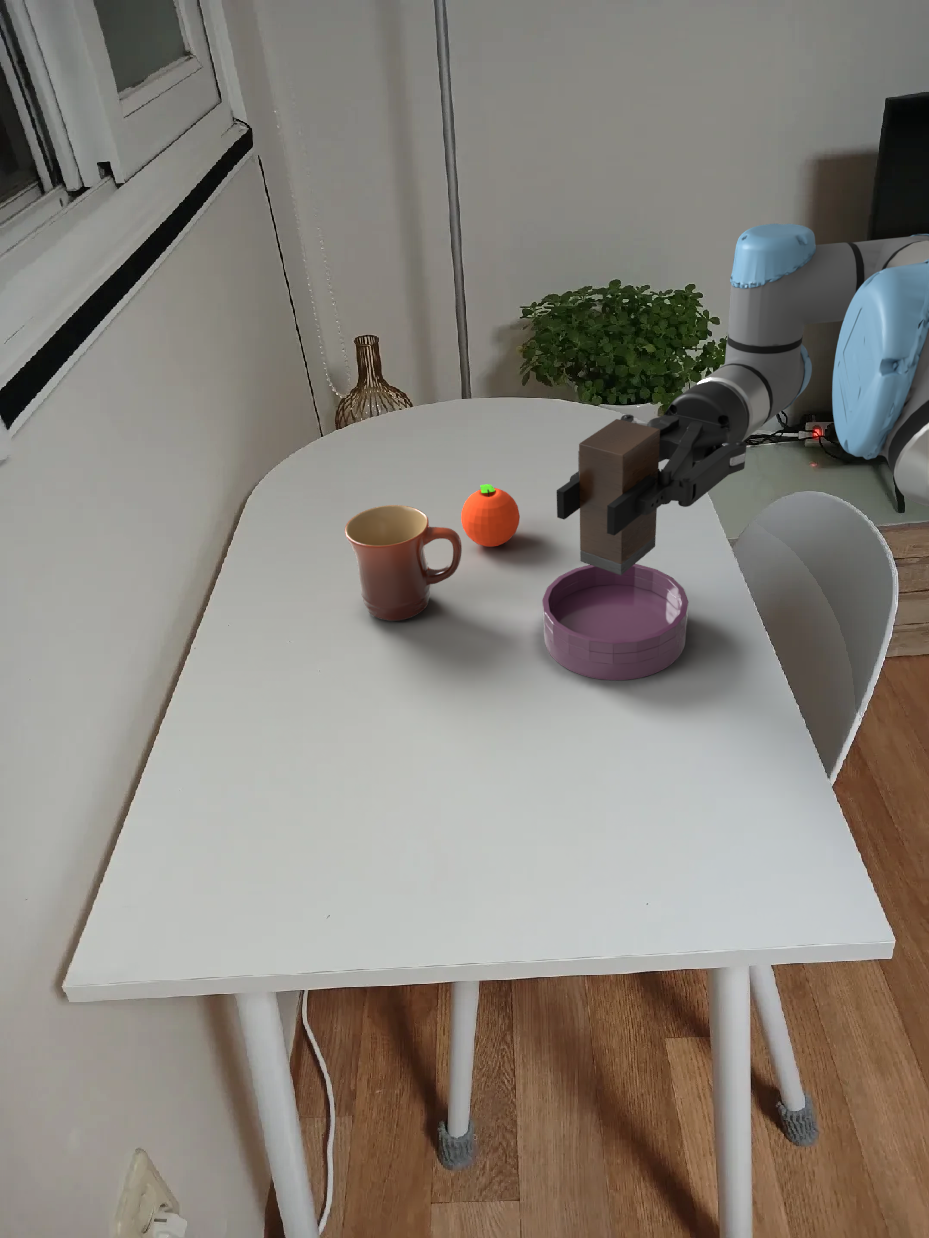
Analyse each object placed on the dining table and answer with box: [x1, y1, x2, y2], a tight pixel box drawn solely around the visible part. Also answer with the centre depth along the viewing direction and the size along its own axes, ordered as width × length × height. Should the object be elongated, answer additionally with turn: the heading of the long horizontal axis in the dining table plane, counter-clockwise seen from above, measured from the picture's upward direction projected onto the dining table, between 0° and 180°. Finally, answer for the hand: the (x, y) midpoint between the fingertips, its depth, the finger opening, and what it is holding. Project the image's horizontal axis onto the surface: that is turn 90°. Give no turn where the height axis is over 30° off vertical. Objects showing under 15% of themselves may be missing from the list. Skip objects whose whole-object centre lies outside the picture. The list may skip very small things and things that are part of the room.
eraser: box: [578, 418, 660, 575], centre depth 86 cm, size 4×6×12 cm
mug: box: [344, 504, 463, 622], centre depth 102 cm, size 12×9×10 cm
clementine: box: [460, 483, 521, 548], centre depth 113 cm, size 8×7×7 cm
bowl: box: [541, 563, 690, 681], centre depth 96 cm, size 14×14×4 cm
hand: (585, 512), depth 82 cm, fingers closed on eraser, 4 cm apart
